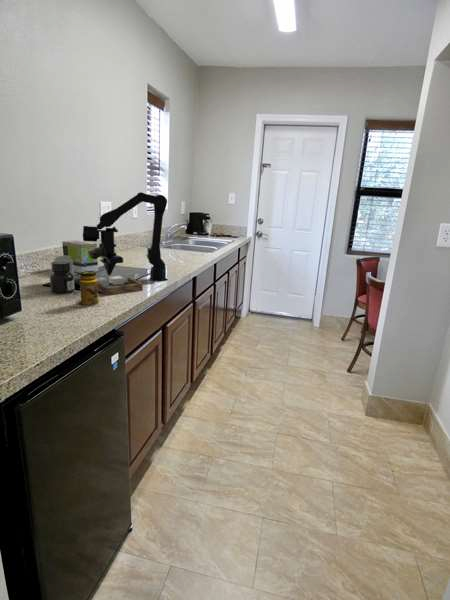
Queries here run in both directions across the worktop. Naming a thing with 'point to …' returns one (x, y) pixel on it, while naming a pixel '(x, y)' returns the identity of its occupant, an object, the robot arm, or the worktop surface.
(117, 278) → the tile
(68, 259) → the can
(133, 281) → the corral
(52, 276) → the ink bottle
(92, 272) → the condiment
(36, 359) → the worktop surface
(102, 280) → the tile
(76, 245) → the tea box
